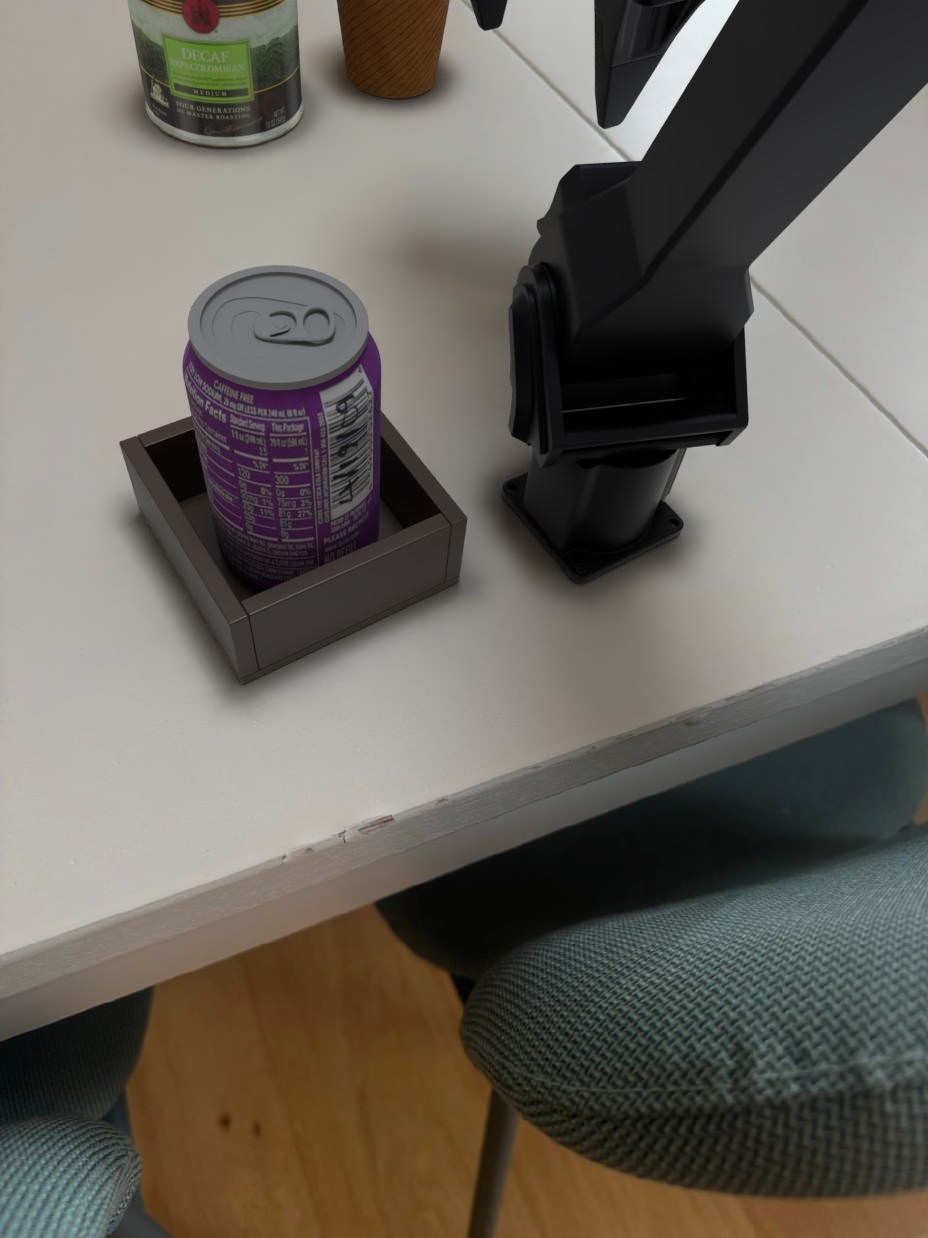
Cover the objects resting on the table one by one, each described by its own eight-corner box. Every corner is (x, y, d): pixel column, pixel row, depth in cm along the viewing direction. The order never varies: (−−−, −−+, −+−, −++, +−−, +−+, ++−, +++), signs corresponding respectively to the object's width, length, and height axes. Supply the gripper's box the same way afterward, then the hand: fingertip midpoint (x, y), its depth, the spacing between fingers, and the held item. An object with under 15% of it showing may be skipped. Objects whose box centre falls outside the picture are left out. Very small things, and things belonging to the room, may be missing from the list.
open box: (242, 685, 39) (229, 624, 35) (139, 511, 43) (118, 441, 40) (459, 582, 43) (468, 517, 39) (344, 431, 47) (341, 361, 44)
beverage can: (374, 477, 45) (376, 256, 35) (383, 599, 41) (388, 391, 31) (221, 480, 44) (179, 255, 34) (215, 606, 40) (166, 393, 30)
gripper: (1021, -367, 29) (818, 137, 42) (636, -501, 37) (566, -43, 50) (754, -350, 25) (621, 202, 38) (387, -504, 33) (382, -5, 46)
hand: (547, 74), depth 43 cm, fingers open, 9 cm apart
